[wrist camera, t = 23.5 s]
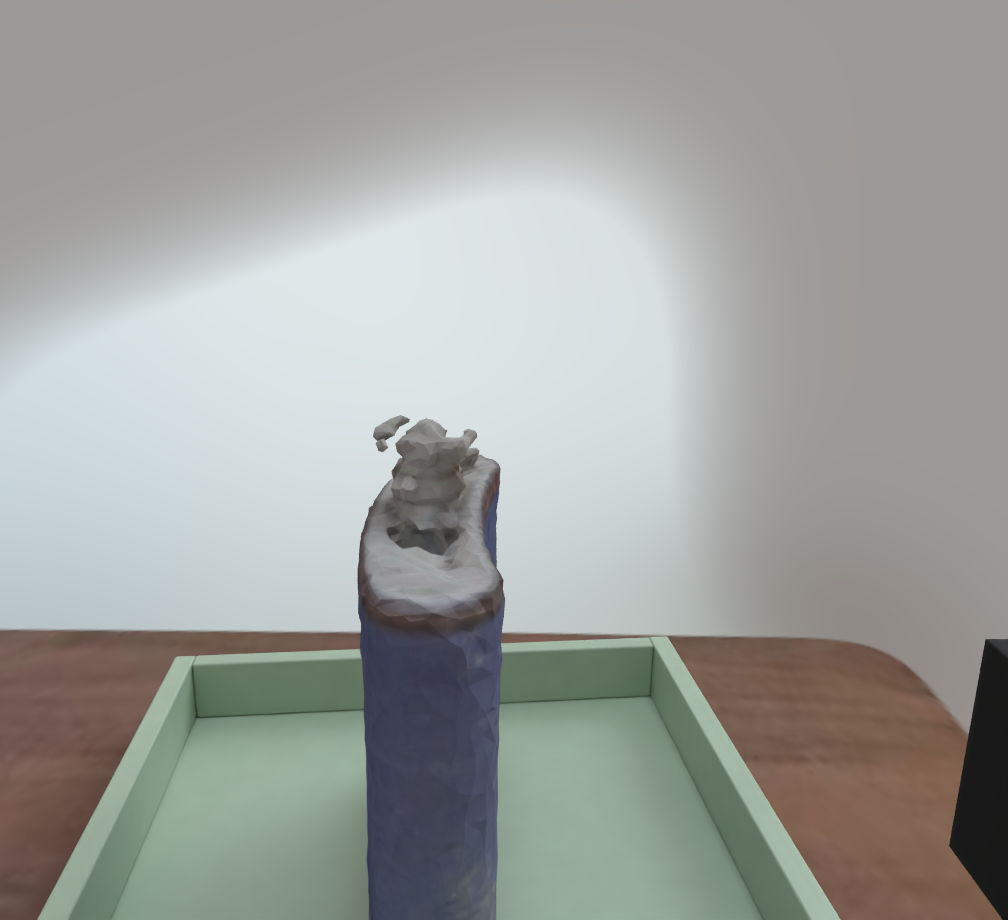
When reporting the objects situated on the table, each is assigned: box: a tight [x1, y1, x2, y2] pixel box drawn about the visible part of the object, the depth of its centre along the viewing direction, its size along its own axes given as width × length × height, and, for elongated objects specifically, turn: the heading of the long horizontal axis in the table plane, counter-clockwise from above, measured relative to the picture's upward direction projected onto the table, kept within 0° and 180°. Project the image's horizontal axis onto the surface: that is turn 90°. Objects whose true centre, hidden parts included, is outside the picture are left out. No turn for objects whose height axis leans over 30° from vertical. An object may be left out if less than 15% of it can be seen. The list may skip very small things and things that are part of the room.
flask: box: [358, 415, 505, 920], centre depth 19 cm, size 9×3×11 cm, turn 1°
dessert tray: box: [37, 637, 840, 920], centre depth 20 cm, size 15×15×2 cm
